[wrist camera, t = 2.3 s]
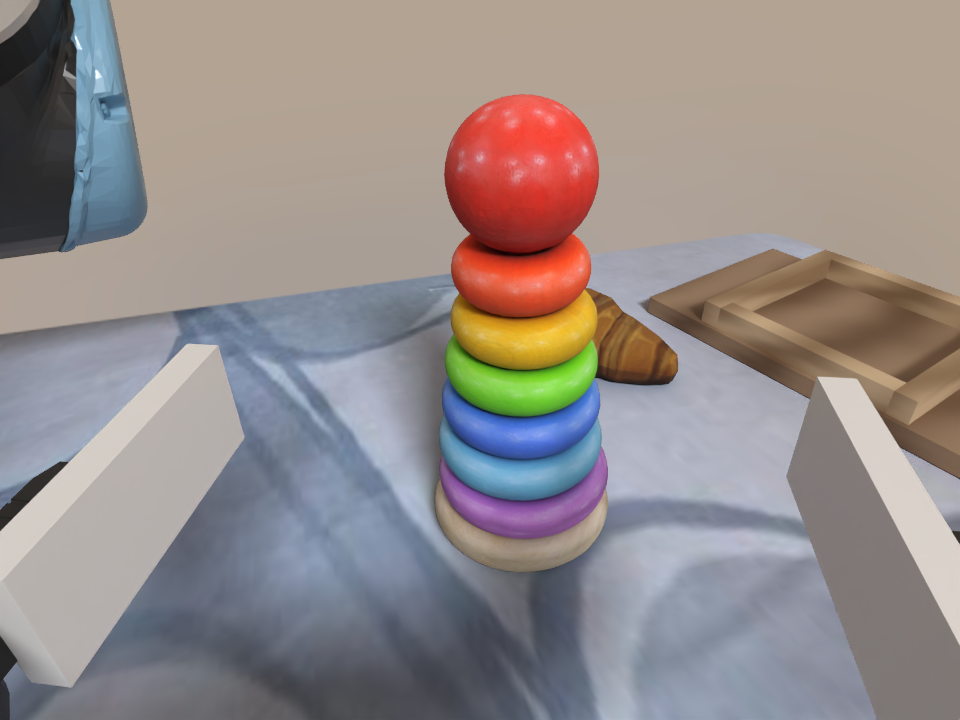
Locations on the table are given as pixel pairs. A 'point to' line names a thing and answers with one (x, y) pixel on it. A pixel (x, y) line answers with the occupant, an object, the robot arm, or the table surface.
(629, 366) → the croissant
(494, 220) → the stacking toy
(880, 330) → the toy stand
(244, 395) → the table surface
